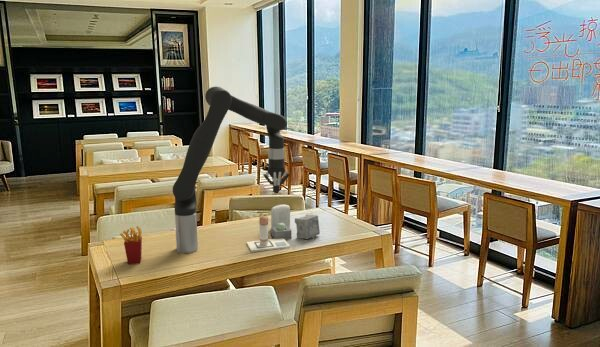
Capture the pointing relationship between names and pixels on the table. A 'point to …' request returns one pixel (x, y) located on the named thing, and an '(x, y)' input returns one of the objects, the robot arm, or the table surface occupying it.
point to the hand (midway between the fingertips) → (276, 192)
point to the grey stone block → (307, 226)
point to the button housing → (281, 232)
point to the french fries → (133, 245)
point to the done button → (281, 226)
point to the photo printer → (280, 215)
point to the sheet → (272, 245)
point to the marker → (263, 230)
